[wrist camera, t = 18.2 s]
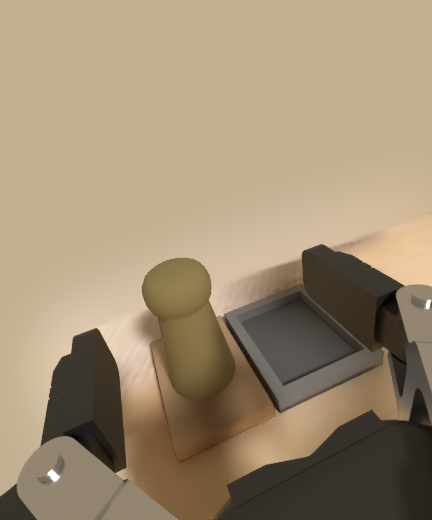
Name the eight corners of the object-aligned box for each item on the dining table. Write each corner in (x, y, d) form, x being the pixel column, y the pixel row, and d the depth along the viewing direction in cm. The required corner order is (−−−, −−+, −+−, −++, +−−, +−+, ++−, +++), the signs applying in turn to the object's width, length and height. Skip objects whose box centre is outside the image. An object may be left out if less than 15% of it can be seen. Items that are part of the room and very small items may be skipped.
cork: (172, 409, 24) (128, 302, 19) (168, 355, 30) (132, 260, 24) (243, 387, 25) (219, 277, 20) (227, 337, 30) (204, 241, 25)
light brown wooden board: (222, 325, 34) (220, 315, 33) (275, 415, 24) (273, 404, 23) (154, 352, 33) (150, 342, 32) (179, 461, 22) (174, 450, 22)
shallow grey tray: (302, 293, 36) (302, 283, 36) (382, 364, 26) (383, 351, 25) (226, 324, 34) (224, 313, 34) (280, 413, 24) (278, 401, 23)
